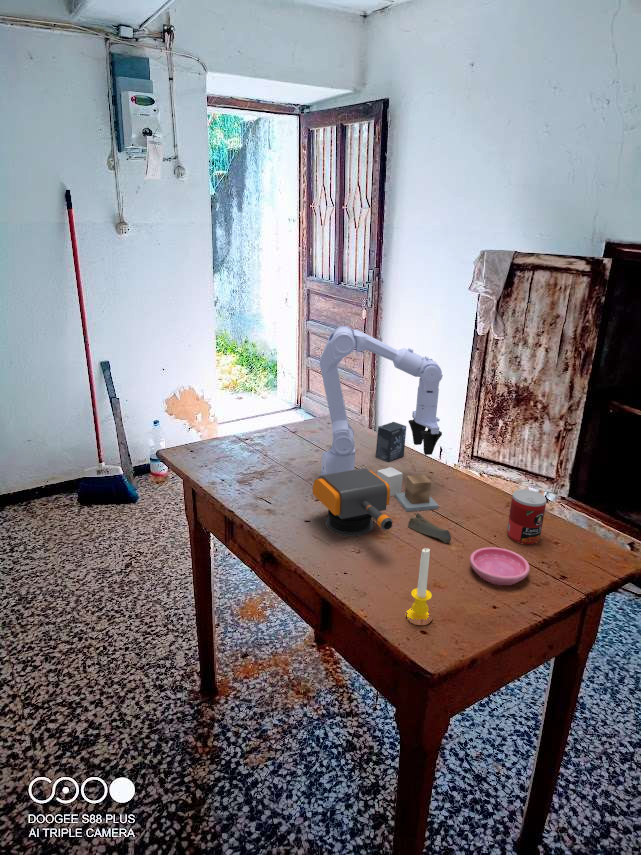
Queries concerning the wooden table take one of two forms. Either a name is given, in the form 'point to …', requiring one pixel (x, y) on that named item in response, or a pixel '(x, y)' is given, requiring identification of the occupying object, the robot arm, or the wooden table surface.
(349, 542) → the wooden table surface
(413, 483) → the walnut block
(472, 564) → the saucer
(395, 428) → the box
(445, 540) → the bone
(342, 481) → the sander
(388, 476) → the grey block
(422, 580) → the candle
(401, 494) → the coaster
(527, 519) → the canned food
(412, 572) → the wooden table surface
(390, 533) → the wooden table surface
